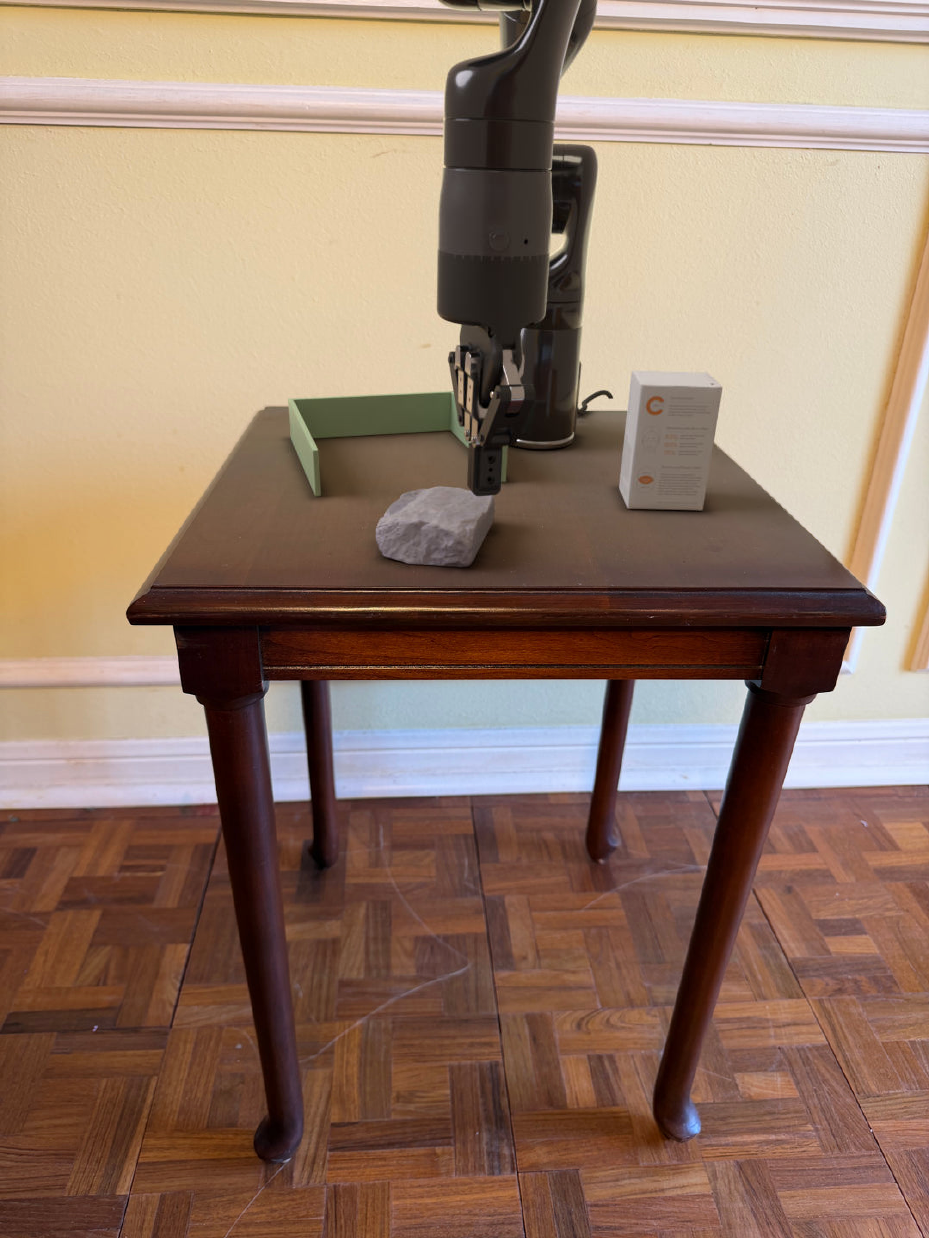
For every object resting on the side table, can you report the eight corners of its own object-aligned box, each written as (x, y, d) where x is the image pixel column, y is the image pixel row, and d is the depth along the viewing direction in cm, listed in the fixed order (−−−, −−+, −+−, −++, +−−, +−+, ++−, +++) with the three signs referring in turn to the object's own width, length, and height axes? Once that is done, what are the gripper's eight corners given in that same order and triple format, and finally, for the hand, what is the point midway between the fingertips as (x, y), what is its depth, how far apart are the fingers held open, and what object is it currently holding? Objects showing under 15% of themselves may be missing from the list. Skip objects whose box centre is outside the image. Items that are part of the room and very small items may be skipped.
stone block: (372, 577, 79) (479, 569, 77) (361, 527, 77) (471, 517, 75) (407, 532, 90) (502, 524, 87) (398, 487, 88) (495, 477, 85)
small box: (690, 490, 97) (709, 371, 91) (703, 512, 91) (724, 386, 85) (617, 488, 97) (630, 369, 91) (625, 509, 91) (641, 384, 85)
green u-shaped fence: (506, 482, 98) (508, 438, 95) (315, 496, 92) (312, 450, 90) (453, 428, 115) (454, 390, 113) (290, 438, 110) (287, 398, 107)
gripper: (586, 256, 54) (562, 520, 62) (513, 236, 65) (501, 462, 73) (469, 256, 52) (461, 529, 60) (415, 236, 63) (414, 468, 71)
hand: (483, 492), depth 67 cm, fingers closed
